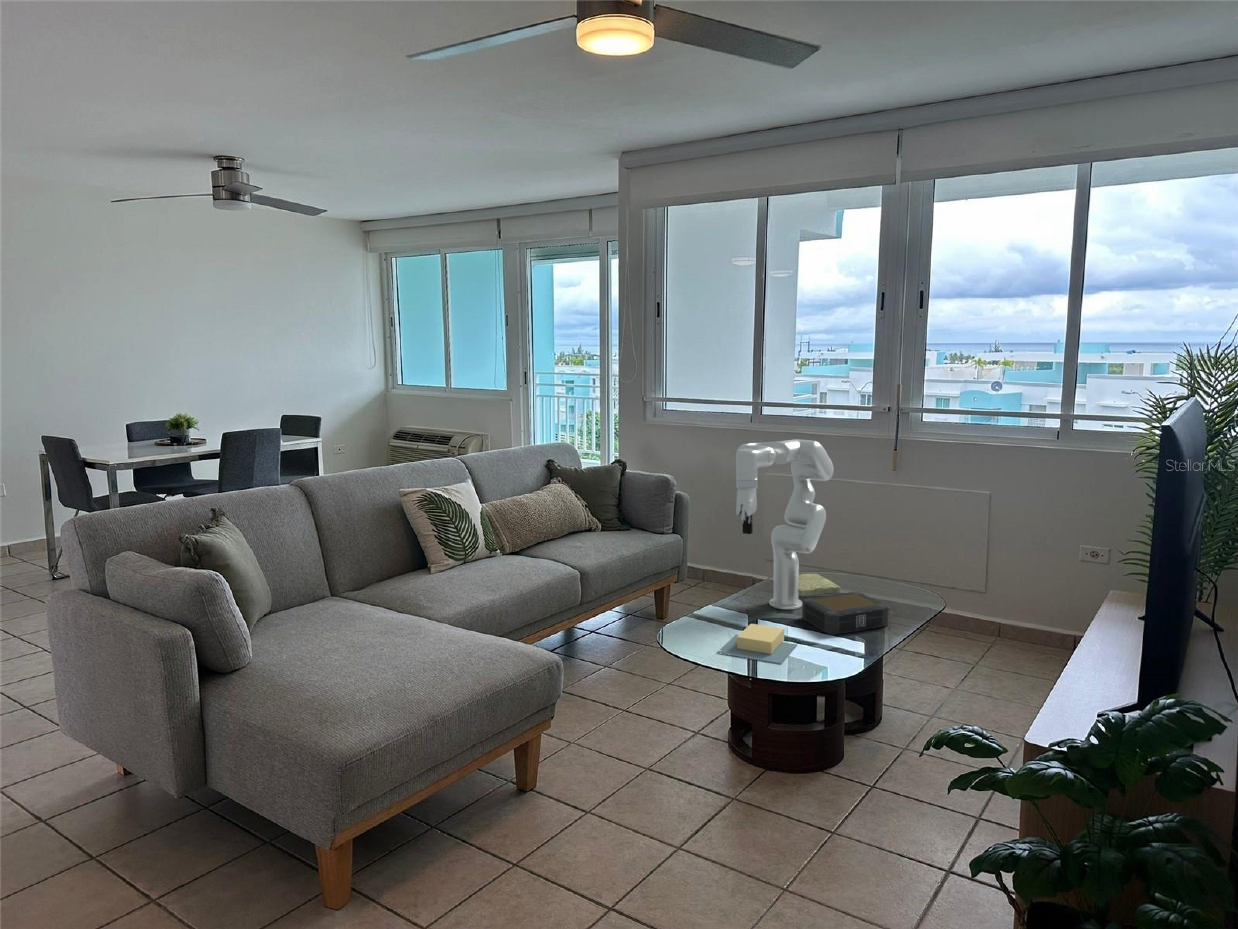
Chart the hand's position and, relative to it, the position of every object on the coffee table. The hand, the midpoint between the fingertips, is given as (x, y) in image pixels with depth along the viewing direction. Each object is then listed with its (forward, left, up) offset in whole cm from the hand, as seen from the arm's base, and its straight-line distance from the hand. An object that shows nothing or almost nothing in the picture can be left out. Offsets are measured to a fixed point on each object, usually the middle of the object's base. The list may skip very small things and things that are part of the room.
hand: (747, 533), depth 300 cm
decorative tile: (-51, +9, -35) cm, 62 cm away
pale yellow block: (+12, +12, -31) cm, 36 cm away
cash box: (-16, +32, -34) cm, 49 cm away
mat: (+23, +12, -34) cm, 42 cm away
